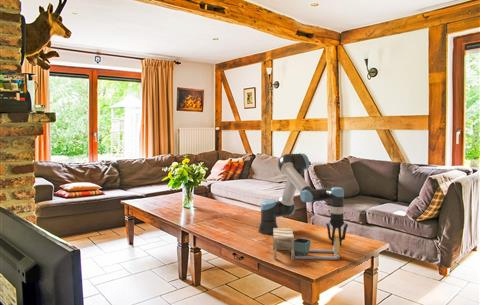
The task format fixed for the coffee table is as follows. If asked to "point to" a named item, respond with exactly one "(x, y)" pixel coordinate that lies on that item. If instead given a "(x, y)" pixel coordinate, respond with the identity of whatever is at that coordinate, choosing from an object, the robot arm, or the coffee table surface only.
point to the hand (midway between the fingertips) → (336, 250)
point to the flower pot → (301, 246)
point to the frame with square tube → (323, 251)
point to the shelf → (283, 241)
